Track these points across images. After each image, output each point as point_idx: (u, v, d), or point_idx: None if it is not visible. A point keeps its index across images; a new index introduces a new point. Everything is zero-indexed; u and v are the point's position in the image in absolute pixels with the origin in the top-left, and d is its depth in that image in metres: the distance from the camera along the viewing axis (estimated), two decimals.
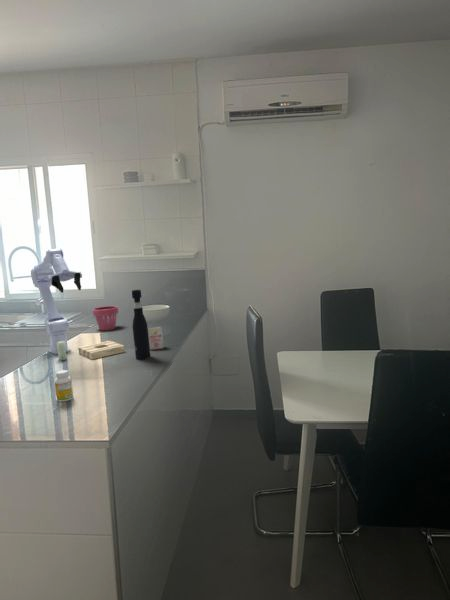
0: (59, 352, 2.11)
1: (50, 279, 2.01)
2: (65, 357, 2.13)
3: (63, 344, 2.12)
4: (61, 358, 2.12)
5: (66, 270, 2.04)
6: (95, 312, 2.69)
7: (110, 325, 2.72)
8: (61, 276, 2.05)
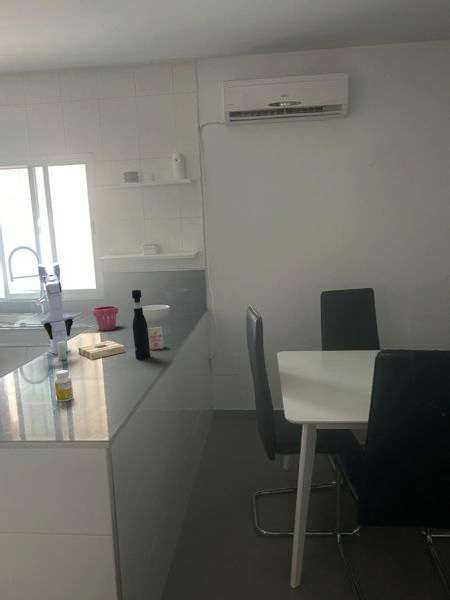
0: (59, 352, 2.11)
1: (43, 324, 2.07)
2: (65, 357, 2.13)
3: (63, 344, 2.12)
4: (61, 358, 2.12)
5: (60, 319, 2.08)
6: (95, 312, 2.69)
7: (110, 325, 2.72)
8: None
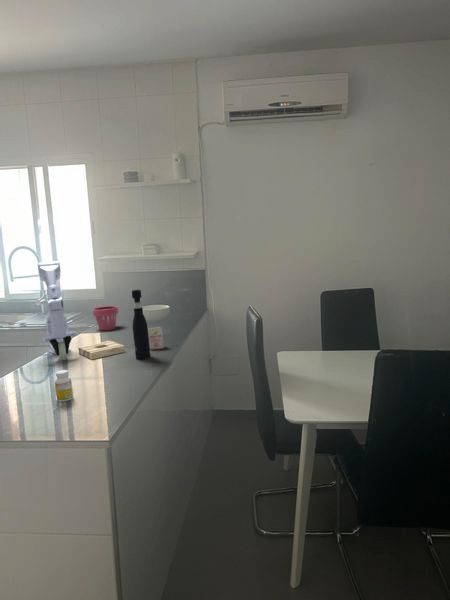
0: (59, 352, 2.11)
1: (45, 341, 2.08)
2: (65, 357, 2.13)
3: (63, 344, 2.12)
4: (61, 358, 2.12)
5: (62, 336, 2.09)
6: (95, 312, 2.69)
7: (110, 325, 2.72)
8: None
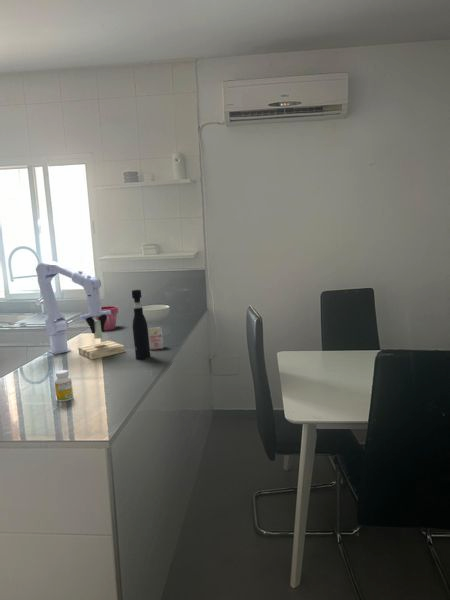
0: (95, 330, 2.17)
1: (82, 319, 2.13)
2: (101, 335, 2.18)
3: (99, 323, 2.17)
4: (97, 336, 2.17)
5: (99, 315, 2.15)
6: None
7: (110, 325, 2.72)
8: None
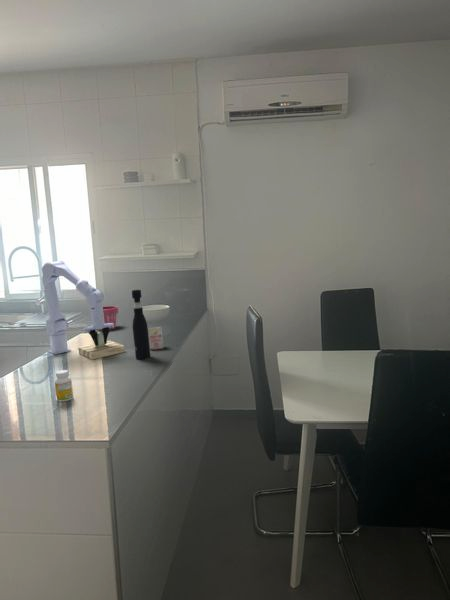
0: (98, 343, 2.18)
1: None
2: None
3: (102, 335, 2.18)
4: None
5: (102, 327, 2.16)
6: None
7: None
8: None
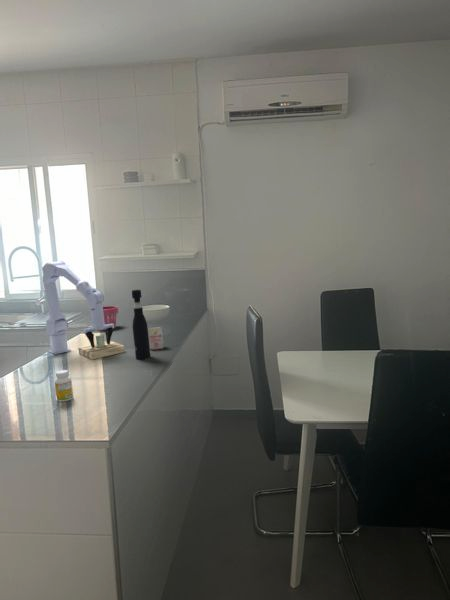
0: (98, 345, 2.18)
1: (85, 333, 2.15)
2: None
3: (102, 337, 2.18)
4: None
5: (102, 328, 2.16)
6: None
7: None
8: None
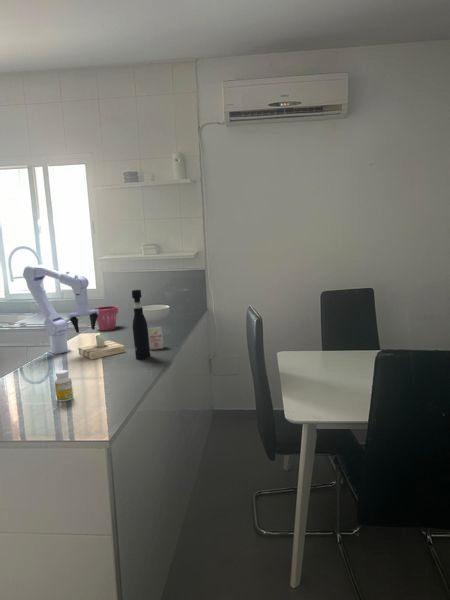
0: (98, 345, 2.18)
1: (69, 318, 2.17)
2: None
3: (102, 337, 2.18)
4: None
5: (86, 313, 2.18)
6: None
7: (110, 325, 2.72)
8: None
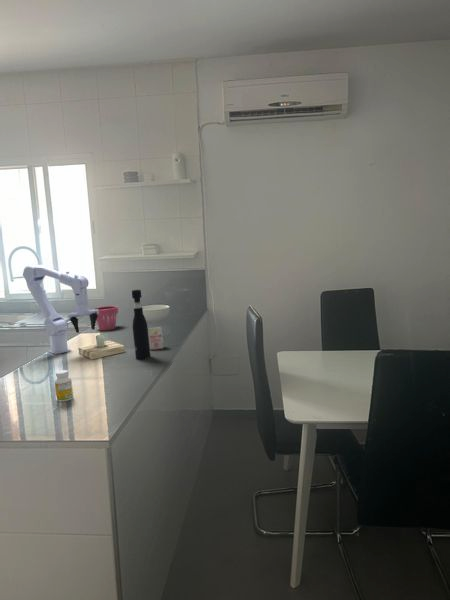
0: (98, 345, 2.18)
1: (69, 318, 2.17)
2: None
3: (102, 337, 2.18)
4: None
5: (86, 313, 2.18)
6: None
7: (110, 325, 2.72)
8: None
